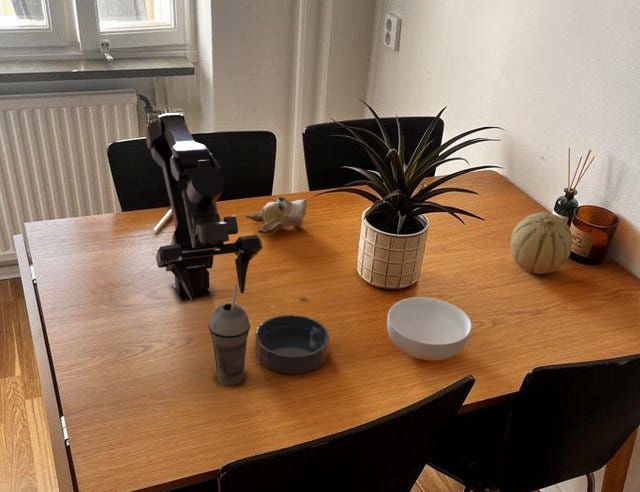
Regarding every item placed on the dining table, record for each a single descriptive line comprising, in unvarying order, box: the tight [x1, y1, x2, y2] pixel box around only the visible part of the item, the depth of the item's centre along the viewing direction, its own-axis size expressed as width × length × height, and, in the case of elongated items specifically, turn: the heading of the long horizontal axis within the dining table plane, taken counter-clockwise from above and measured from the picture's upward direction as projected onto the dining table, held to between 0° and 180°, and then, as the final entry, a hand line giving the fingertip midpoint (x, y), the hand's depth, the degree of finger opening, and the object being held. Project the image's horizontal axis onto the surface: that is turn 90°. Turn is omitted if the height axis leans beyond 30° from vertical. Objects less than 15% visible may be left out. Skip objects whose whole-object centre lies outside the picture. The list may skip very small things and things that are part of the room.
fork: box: [152, 208, 173, 233], centre depth 182 cm, size 3×20×2 cm, turn 171°
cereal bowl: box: [386, 296, 473, 361], centre depth 141 cm, size 17×17×7 cm
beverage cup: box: [208, 283, 251, 386], centre depth 124 cm, size 7×7×20 cm
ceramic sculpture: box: [245, 196, 307, 235], centre depth 180 cm, size 11×9×15 cm
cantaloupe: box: [509, 211, 573, 275], centre depth 170 cm, size 15×15×15 cm
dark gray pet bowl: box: [254, 314, 330, 375], centre depth 136 cm, size 14×14×4 cm
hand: (218, 296), depth 129 cm, fingers open, 9 cm apart
